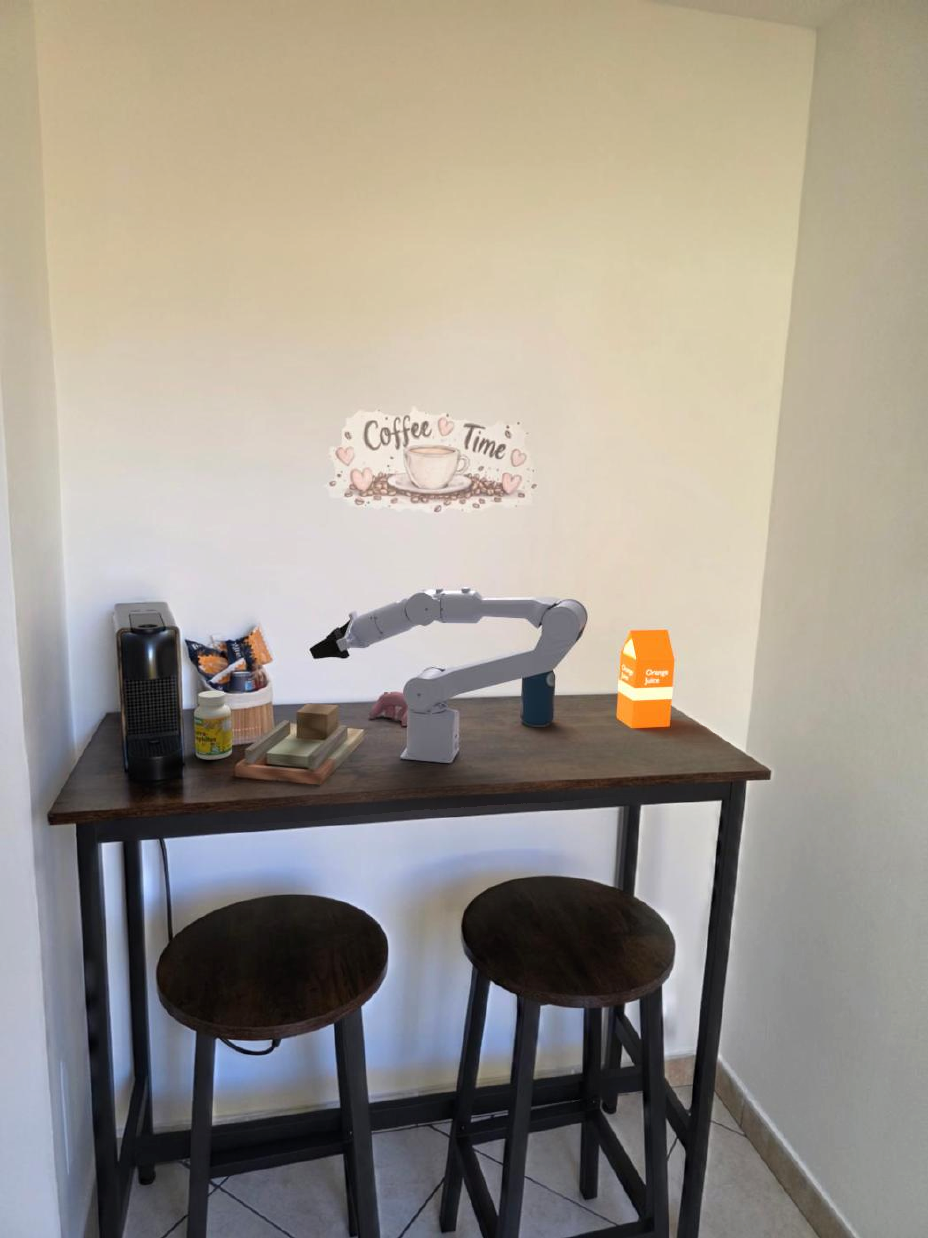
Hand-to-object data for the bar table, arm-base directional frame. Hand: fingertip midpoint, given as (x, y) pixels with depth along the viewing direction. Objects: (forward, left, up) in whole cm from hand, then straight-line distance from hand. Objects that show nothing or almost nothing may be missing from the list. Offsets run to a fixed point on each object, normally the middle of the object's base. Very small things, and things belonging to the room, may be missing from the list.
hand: (320, 647), depth 155 cm
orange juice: (-61, -30, -18) cm, 71 cm away
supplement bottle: (+16, +12, -18) cm, 27 cm away
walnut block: (0, +2, -16) cm, 16 cm away
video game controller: (-10, -16, -19) cm, 27 cm away
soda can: (-39, -23, -18) cm, 49 cm away
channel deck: (0, +9, -18) cm, 21 cm away
